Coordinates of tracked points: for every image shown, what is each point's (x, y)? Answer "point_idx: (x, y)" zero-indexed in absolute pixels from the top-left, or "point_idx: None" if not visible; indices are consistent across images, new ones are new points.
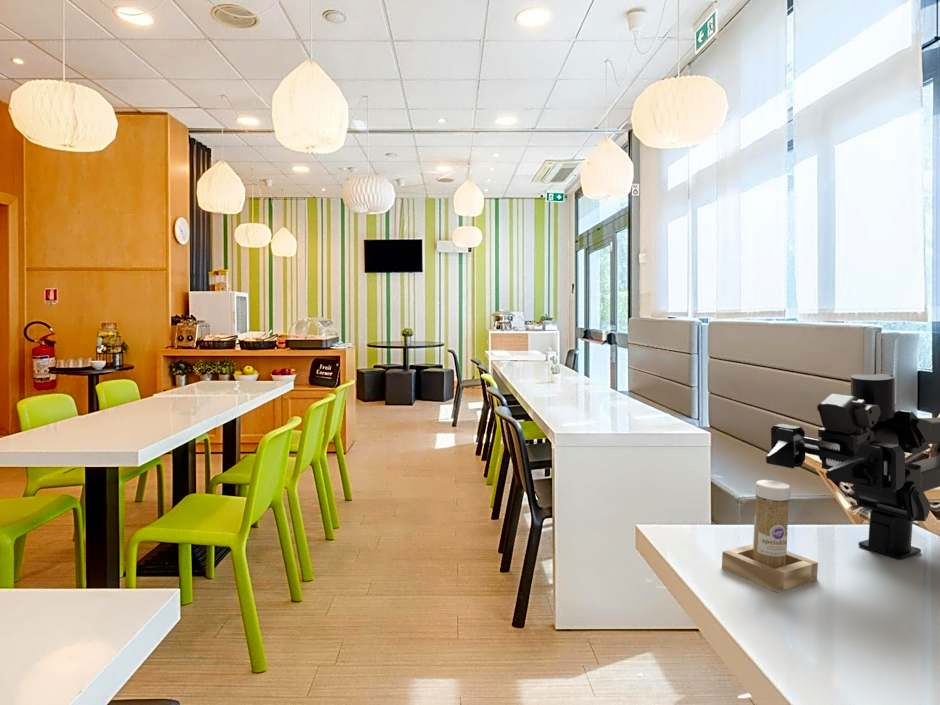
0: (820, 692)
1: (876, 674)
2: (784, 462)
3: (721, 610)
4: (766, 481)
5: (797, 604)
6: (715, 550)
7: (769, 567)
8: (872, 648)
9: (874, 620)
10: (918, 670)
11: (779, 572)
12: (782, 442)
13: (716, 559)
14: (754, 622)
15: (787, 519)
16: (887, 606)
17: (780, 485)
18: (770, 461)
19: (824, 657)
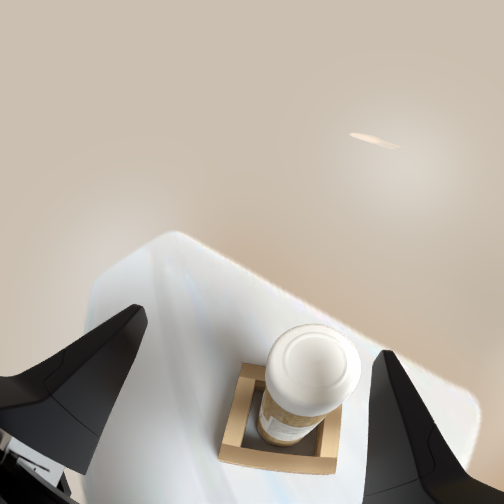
0: (156, 241)
1: (124, 281)
2: (373, 471)
3: (263, 289)
4: (340, 365)
5: (209, 360)
6: None
7: (263, 378)
8: None
9: (128, 380)
10: (96, 307)
11: (244, 371)
12: (441, 470)
13: (360, 406)
14: (227, 290)
15: (265, 402)
16: (120, 432)
17: (293, 359)
18: (374, 369)
19: (160, 278)
